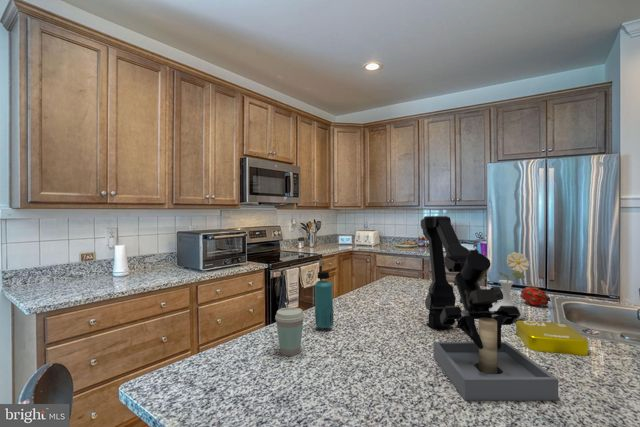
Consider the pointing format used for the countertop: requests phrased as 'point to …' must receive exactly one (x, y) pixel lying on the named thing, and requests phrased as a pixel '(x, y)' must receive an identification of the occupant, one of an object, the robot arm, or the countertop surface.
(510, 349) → the charcoal box
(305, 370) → the countertop surface
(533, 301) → the dragon fruit
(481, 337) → the birch peg
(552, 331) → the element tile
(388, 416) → the countertop surface
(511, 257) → the flower in vase
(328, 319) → the beverage bottle
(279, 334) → the coffee cup
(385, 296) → the white ring with post
